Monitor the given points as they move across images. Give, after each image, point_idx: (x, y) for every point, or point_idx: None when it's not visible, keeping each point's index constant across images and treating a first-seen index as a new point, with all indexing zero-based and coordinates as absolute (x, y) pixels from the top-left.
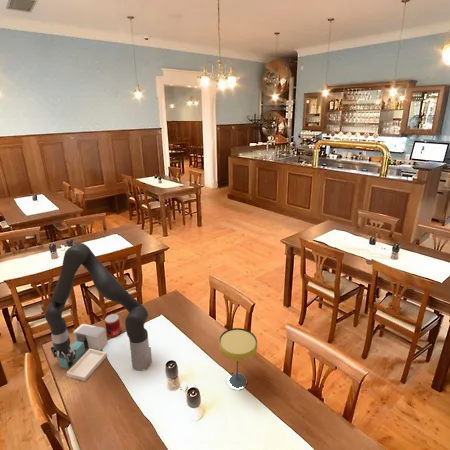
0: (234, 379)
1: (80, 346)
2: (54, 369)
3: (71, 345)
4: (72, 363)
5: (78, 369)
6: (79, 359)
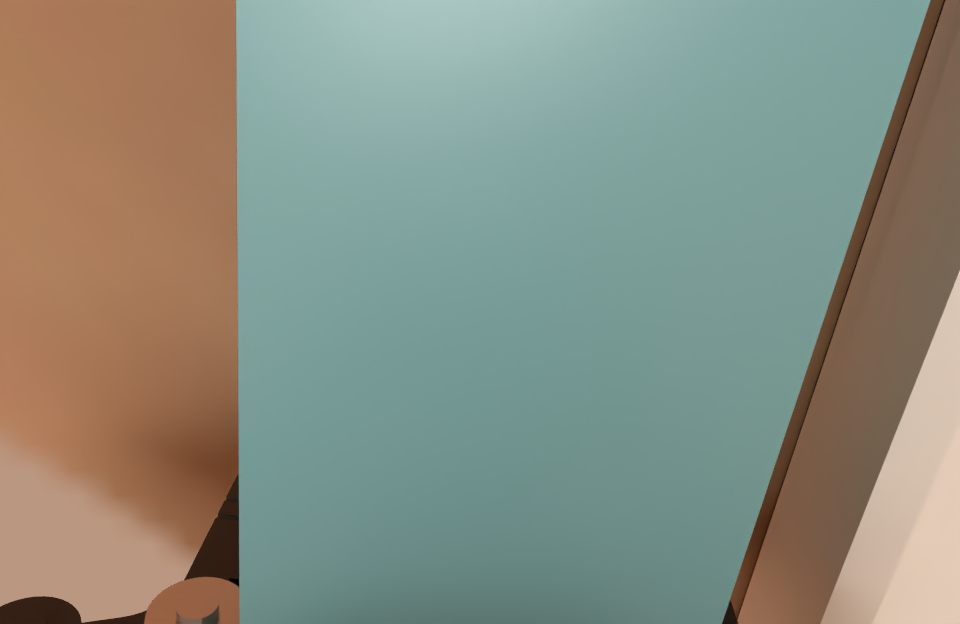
0: None
1: (894, 45)
2: None
3: (265, 115)
4: None
5: (910, 593)
6: (900, 448)
